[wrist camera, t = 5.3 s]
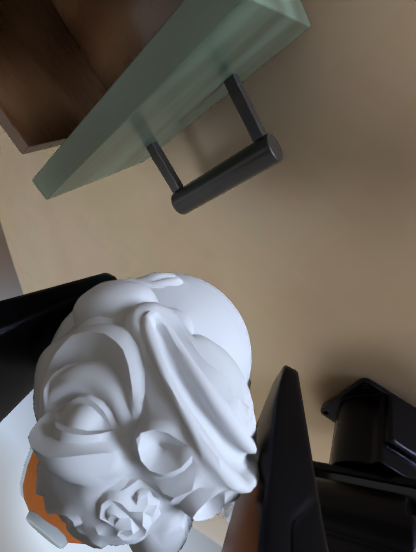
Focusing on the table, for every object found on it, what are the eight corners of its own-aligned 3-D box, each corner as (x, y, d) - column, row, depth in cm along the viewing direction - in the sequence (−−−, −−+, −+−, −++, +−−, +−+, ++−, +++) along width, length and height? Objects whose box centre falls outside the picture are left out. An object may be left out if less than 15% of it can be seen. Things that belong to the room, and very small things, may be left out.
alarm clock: (88, 343, 43) (-38, 460, 30) (195, 408, 39) (102, 573, 27) (92, 405, 55) (3, 508, 43) (173, 460, 52) (103, 590, 39)
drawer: (348, 118, 16) (320, 156, 9) (176, 215, 24) (98, 271, 17) (169, -326, 11) (-127, -852, 5) (32, -18, 19) (-145, -59, 13)
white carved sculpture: (343, 357, 10) (292, 703, 4) (188, 373, 14) (72, 556, 9) (248, 184, 8) (-7, 410, 3) (107, 264, 12) (-94, 409, 7)
